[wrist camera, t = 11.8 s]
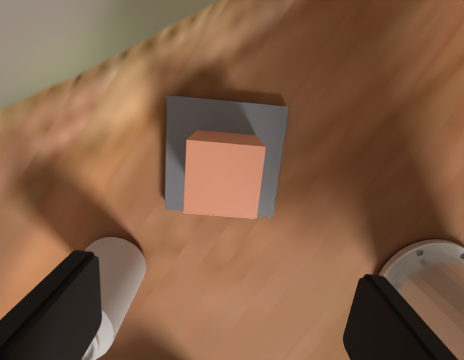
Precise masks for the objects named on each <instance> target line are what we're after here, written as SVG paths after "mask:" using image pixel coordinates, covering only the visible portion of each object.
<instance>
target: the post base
mask: <svg viewBox="0 0 464 360" xmlns="http://www.w3.org/2000/svg"><path fill="white" fill-rule="evenodd" d="M288 112H289V107H287V106H277V105H266V104H255V103H245V102H234V101H224V100H213V99H203V98H192V97H181V96H171V95H167V118H166V176H165V209H167V210H180V211H184V190H185V165H186V140H187V139H188V138H189V137H190V136H191V135H192V134H193V133H194V132H195V131H196V130H204V131H215V132H226V133H237V134H248V135H256V136H257V137H258V138H259V139H260V140H261V142H262V143H263V144H264V145H265V146H266V150H265V157H264V165H263V173H262V181H261V188H260V196H259V204H258V211H257V216H258V217H271V218H273V213H274V206H275V200H276V193H277V186H278V179H279V173H280V166H281V159H282V152H283V146H284V139H285V132H286V125H287V119H288Z"/></svg>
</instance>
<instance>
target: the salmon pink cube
mask: <svg viewBox="0 0 464 360" xmlns="http://www.w3.org/2000/svg"><path fill="white" fill-rule="evenodd" d="M265 150H266V146H265V145H264V144H263V143H262V142H261V140H260V139H259V138H258V137H257V136H256V135H248V134H237V133H226V132H215V131H204V130H196V131H195V132H194V133H193V134H192V135H191V136H190V137H189V138H188V139H187V140H186V165H185V190H184V213H187V214H200V215H213V216H226V217H239V218H252V219H257V211H258V204H259V196H260V188H261V181H262V173H263V165H264V157H265Z"/></svg>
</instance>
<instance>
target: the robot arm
mask: <svg viewBox="0 0 464 360" xmlns="http://www.w3.org/2000/svg"><path fill="white" fill-rule="evenodd" d="M101 322H102V306H101V287H100V268H99V258H98V257H97V256H95V255H94V253H93V252H92V251H79V250H75V251H73V252H72V253H71V254H70V255H69V256H68V257H67V258H65V259H64V260H63V261H62V262H61V263H60V264H59V265H58V266H57V267H56V268H55V269H54V270H53V271H52V272H51V273H50V274H49V275H47V276H46V277H45V278H44V279H43V280H42V281H41V282H40V283H39V284H38V285H37V286H36V287H35V288H34V289H33V290H32V291H31V292H29V293H28V294H27V295H26V296H25V297H24V298H23V299H22V300H21V301H20V302H19V303H18V304H17V305H16V306H15V307H14V308H13V309H11V310H10V311H9V312H8V313H7V314H6V315H5V316H4V317H3V318H2V319H1V320H0V360H82V358H83V356H84V354H85V353H86V351H87V349H88V348H89V346H90V344H91V342H92V341H93V339H94V337H95V335H96V334H97V332H98V330H99V328H100V326H101ZM343 343H344V347H345V349H346V351H347V353H348V355H349V358H350V360H464V248H463V247H462V246H460V245H458V244H456V243H454V242H451V241H447V240H440V239H432V240H424V241H420V242H416V243H414V244H411V245H409V246H407V247H405V248H403V249H402V250H400V251H398V252H397V253H396V254H395V255H393V256H392V257H391V258H390V259H389V260H388V261H387V263H386V264H385V265H384V266H383V268H382V270H381V271H380V273H379V275H371V274H366V275H364V277H363V278H360V279H359V281H358V285H357V288H356V292H355V296H354V299H353V303H352V306H351V310H350V313H349V317H348V321H347V324H346V328H345V331H344V335H343Z"/></svg>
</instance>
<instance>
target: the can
mask: <svg viewBox="0 0 464 360" xmlns="http://www.w3.org/2000/svg"><path fill="white" fill-rule="evenodd" d="M84 251H92V252H93V253H94V255H95V256H97V257H98V258H99V268H100V287H101V306H102V322H101V326H100V328H99V330H98V332H97V334H96V335H95V337H94V339H93V341H92V342H91V344H90V346H89V348H88V349H87V351H86V353H85V354H84V356H83V358H82V360H96V359H97V358H99V357H100V356H102V355H103V354H105V353H106V352H107V350H108V349H109V348H110V346H111V345H112V343H113V341H114V339H115V336H116V334H117V332H118V330H119V328H120V326H121V324H122V322H123V320H124V318H125V316H126V313H127V311H128V309H129V307H130V305H131V303H132V301H133V299H134V297H135V295H136V292H137V290H138V288H139V286H140V284H141V282H142V280H143V278H144V276H145V271H146V262H145V258H144V256H143V254H142V252H141V251H140V250H139V249H138V248H137V247H136V246H135V245H134V244H132V243H131V242H129V241H127V240H125V239H121V238H117V237H104V238H101V239H98V240H96V241H94V242H93V243H92V244H90V245H89V246H88V247H87V248H86V249H85V250H84Z"/></svg>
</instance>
